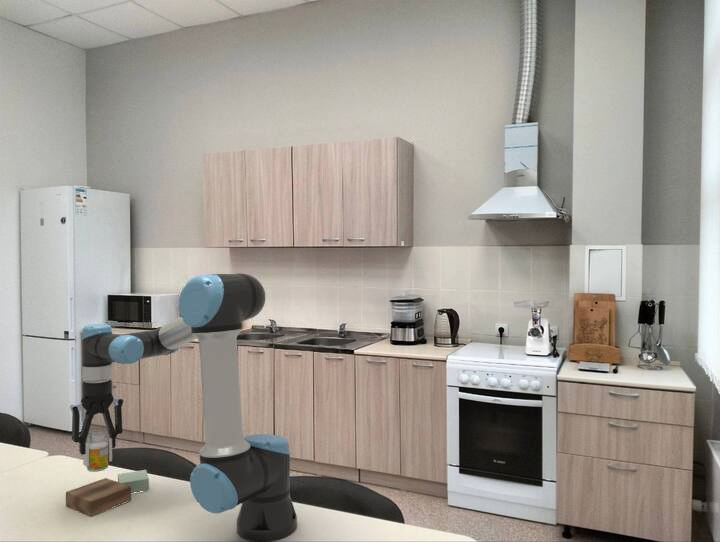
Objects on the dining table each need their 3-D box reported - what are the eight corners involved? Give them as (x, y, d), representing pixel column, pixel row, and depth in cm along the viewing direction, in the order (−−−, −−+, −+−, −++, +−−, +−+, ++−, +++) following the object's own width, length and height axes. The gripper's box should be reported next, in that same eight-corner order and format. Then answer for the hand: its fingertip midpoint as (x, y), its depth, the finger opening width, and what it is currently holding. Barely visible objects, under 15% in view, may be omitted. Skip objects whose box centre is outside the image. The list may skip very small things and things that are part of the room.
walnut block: (131, 500, 160) (130, 486, 160) (91, 516, 150) (90, 501, 150) (105, 491, 167) (105, 477, 167) (66, 506, 157) (65, 492, 156)
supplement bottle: (82, 470, 157) (82, 435, 157) (99, 463, 162) (99, 430, 162) (95, 473, 155) (95, 438, 154) (112, 467, 159) (112, 433, 159)
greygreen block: (149, 492, 167) (148, 478, 167) (119, 497, 163) (119, 483, 163) (146, 482, 174) (146, 469, 174) (118, 487, 170) (117, 474, 170)
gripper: (126, 373, 167) (126, 451, 167) (57, 382, 154) (58, 466, 155) (135, 377, 161) (136, 458, 162) (64, 387, 149) (65, 474, 149)
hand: (97, 462), depth 158 cm, fingers closed on supplement bottle, 5 cm apart
